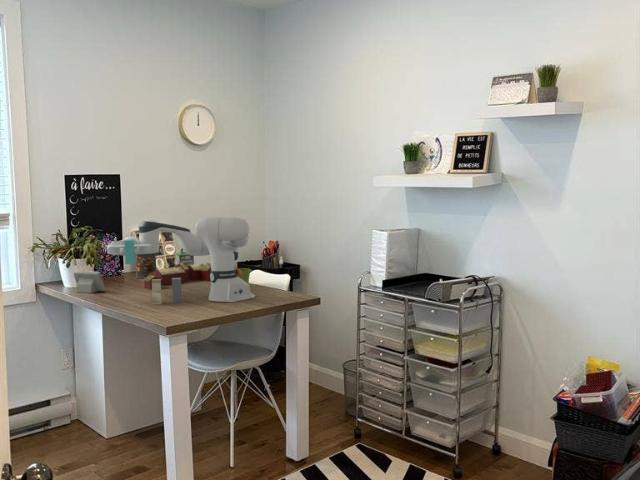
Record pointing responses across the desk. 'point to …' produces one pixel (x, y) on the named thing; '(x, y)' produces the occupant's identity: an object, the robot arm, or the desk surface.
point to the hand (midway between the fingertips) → (129, 250)
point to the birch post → (156, 291)
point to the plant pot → (244, 274)
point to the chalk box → (184, 258)
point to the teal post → (129, 252)
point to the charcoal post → (176, 290)
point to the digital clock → (88, 281)
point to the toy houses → (179, 274)
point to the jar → (145, 266)
